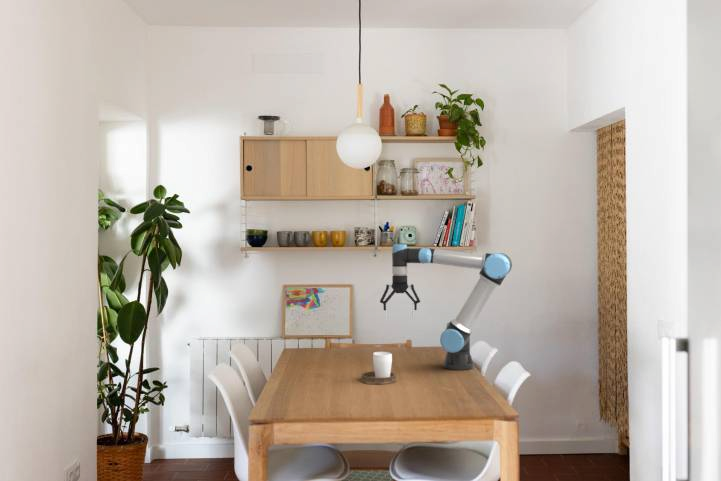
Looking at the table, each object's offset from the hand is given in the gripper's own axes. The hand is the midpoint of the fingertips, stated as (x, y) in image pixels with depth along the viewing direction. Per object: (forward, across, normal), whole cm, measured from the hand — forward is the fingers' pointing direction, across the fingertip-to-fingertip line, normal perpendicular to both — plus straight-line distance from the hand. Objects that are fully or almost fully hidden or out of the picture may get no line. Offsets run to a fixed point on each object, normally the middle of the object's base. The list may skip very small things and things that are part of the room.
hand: (400, 316), depth 338 cm
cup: (+26, +10, +25) cm, 38 cm away
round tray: (+27, +12, +25) cm, 38 cm away
